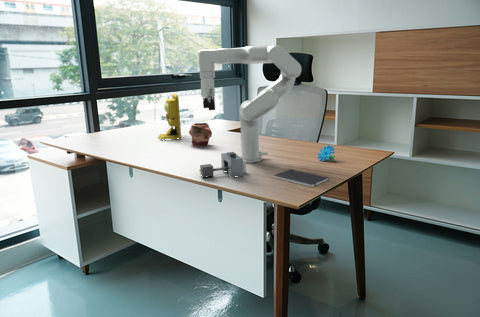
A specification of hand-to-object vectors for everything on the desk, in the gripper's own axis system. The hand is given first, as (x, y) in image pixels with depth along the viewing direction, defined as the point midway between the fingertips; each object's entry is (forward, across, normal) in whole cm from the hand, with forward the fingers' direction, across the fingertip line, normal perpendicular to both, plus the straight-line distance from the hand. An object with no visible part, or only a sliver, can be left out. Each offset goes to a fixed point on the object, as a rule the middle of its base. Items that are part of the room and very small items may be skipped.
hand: (209, 109), depth 200 cm
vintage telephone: (+28, -79, -8) cm, 84 cm away
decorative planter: (+28, -42, +6) cm, 51 cm away
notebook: (+29, +45, +28) cm, 61 cm away
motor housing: (+28, +24, +3) cm, 37 cm away
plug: (+28, +24, -2) cm, 37 cm away
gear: (+29, +24, +55) cm, 67 cm away
